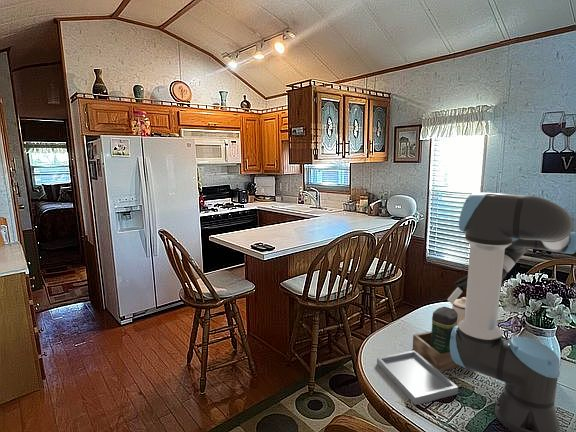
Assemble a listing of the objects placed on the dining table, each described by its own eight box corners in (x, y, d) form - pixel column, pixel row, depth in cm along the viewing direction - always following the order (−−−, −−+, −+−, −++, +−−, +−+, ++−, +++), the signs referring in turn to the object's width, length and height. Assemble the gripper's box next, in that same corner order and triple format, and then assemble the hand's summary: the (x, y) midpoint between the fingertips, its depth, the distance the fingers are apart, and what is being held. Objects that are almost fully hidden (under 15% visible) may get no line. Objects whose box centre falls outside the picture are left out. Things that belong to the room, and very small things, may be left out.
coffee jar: (448, 365, 127) (452, 318, 123) (426, 357, 132) (429, 311, 128) (457, 354, 134) (461, 308, 130) (436, 346, 139) (439, 302, 135)
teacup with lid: (472, 329, 152) (474, 303, 150) (449, 323, 157) (451, 299, 155) (474, 317, 162) (476, 294, 160) (452, 313, 167) (454, 290, 165)
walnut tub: (473, 363, 128) (474, 348, 127) (439, 371, 123) (440, 355, 122) (444, 342, 142) (445, 328, 141) (412, 348, 138) (413, 334, 136)
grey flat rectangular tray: (457, 394, 112) (458, 387, 112) (414, 404, 107) (415, 397, 107) (414, 356, 133) (414, 350, 132) (376, 363, 128) (377, 357, 128)
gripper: (533, 284, 123) (495, 330, 122) (477, 262, 147) (444, 301, 145) (523, 271, 121) (484, 318, 119) (467, 251, 144) (434, 290, 143)
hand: (462, 309), depth 132 cm, fingers open, 13 cm apart
